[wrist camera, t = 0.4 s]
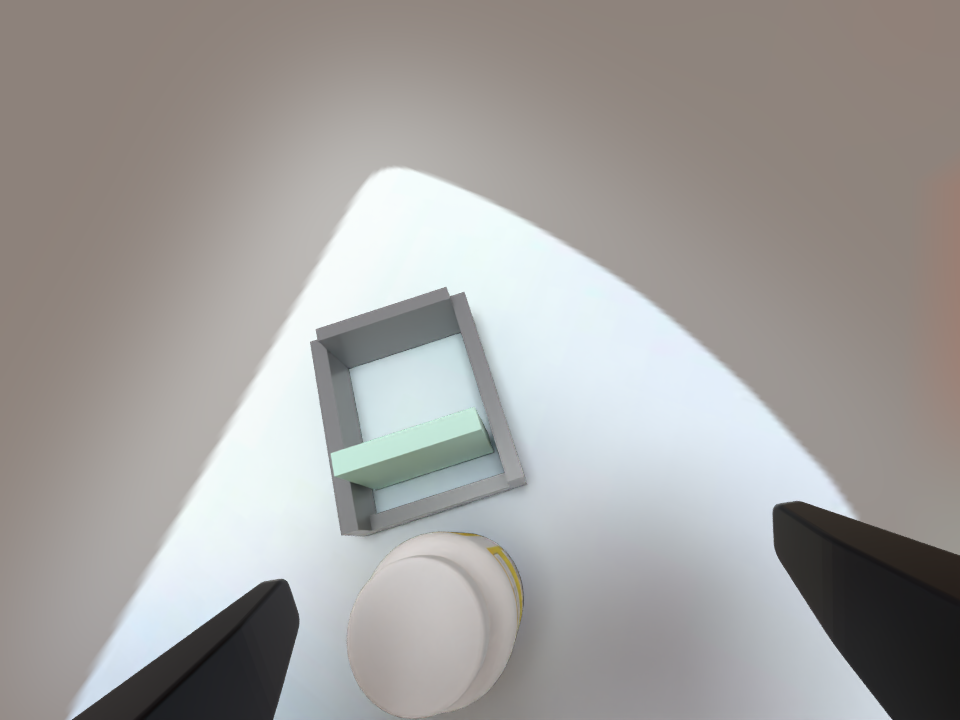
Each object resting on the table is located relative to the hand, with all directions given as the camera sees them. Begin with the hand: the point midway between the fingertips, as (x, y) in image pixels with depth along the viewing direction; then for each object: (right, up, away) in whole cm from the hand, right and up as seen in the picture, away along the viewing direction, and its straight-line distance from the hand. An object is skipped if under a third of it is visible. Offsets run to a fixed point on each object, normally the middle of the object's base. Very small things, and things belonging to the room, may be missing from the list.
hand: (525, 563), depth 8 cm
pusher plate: (-3, -2, +16) cm, 16 cm away
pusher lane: (-4, +1, +17) cm, 17 cm away
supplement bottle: (-1, -7, +14) cm, 16 cm away
